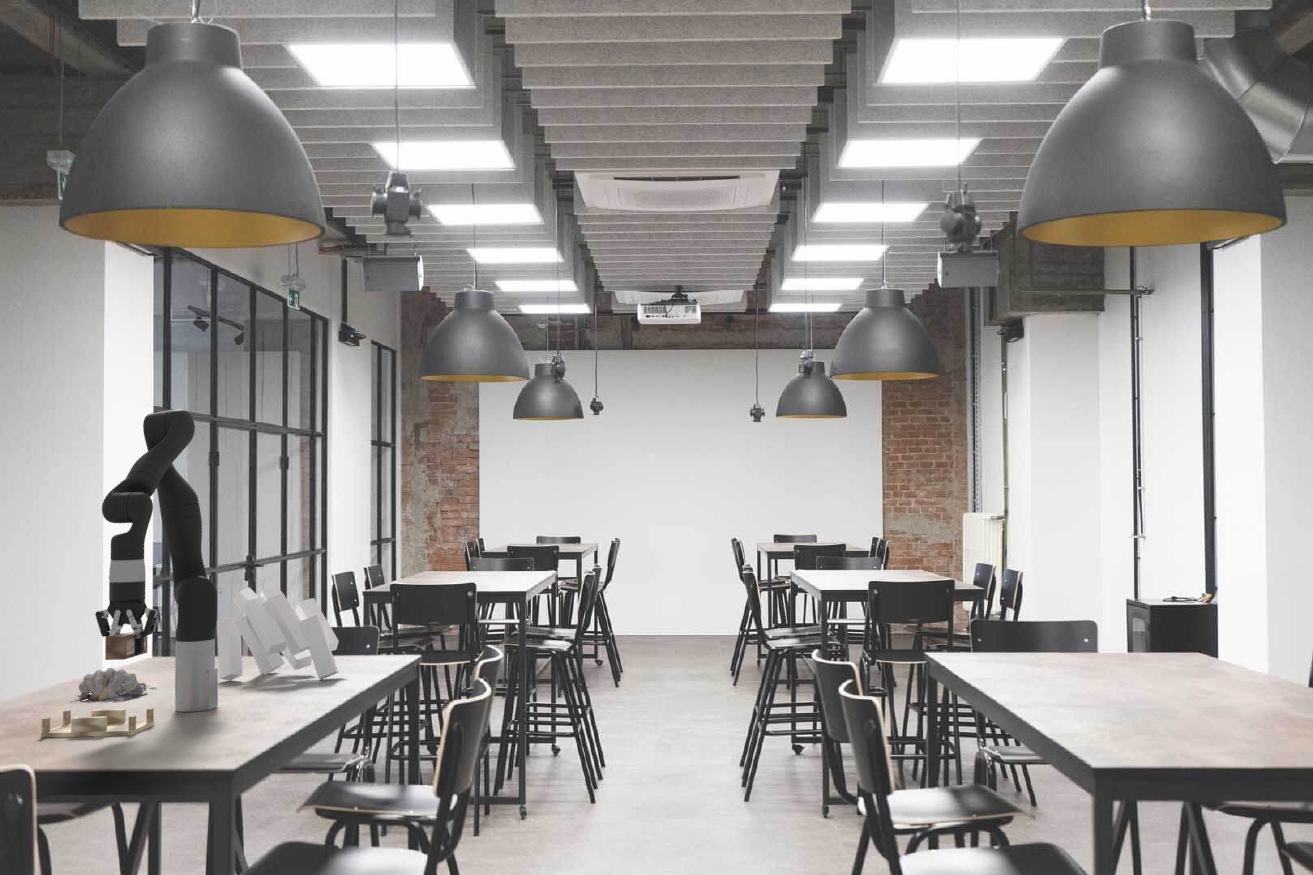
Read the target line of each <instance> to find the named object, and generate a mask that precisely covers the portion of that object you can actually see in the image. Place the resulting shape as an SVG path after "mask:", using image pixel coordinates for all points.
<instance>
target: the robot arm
mask: <svg viewBox="0 0 1313 875" xmlns="http://www.w3.org/2000/svg"><path fill="white" fill-rule="evenodd" d="M142 426H143V427H142V429H143V430H142V431H143V437H144V442H145V444H146V448H147V451H146V452H145V453H144V454H143V455H141V456H140V457H138V459H137V460H136V461H135V463H134V464H133V465H132V466H131V468H130V470H129V472H128V474H127V475H126V477H125V479H123V480H122V481H121V482H119V483H118V484H117V485H116V486H114V488H112V489H111V490H110V491H109V492H108V493H107V494H106V495H105V497H104V498H103V502H102V505H101V513H102V516H103V519H105V520H106V521H107V522H109V523H111V524H131V527H130V528H129V530H128V531H126V532H122V533H118V534H115V535H112V537H111V539H110V565H109V570H108V571H109V574H108V581H109V582H108V583H109V584H108V586H109V587H108V588H109V592H108V601H109V605H108V606H107V608H105V609H103V610H98V611H96V612H95V613H94V614H95V615H94V616H95V618H96V622H97V625H98V628H99V632H100V634H101V637H103V638H105V637H109V636H113V635H117V634H121V633H122V629H123V628H124V625H130V627H131V629H132V631H134V634H135V637H136V639H135V653H134V654H135V655H138V656H140V655H142V654H141V653H142V652H143V651H144V638H145V636H147V637H148V636H150V635H152V634H153V632H154V629H155V626H156V623H157V620H158V616H159V613H160V611H159V608H155V609H154V608H151V607H148V606H147V604H146V566H145V541H146V536H147V532H148V528H149V524H150V521H151V519H152V516H153V510H154V503H153V500H152V496H153V495H154V493H155V492H157V497H158V498H157V499H158V506H159V511H160V518H161V522H162V528H163V531H164V536H165V540H166V543H167V544H166V545H167V548H168V551H169V556H170V560H171V566H172V568H171V569H172V580H173V581H172V582H173V583H172V584H173V598H174V601H175V603H176V604H177V625H176V629H175V651H174V652H175V657H174V659H175V660H174V661H175V665H174V668H175V669H174V671H175V672H174V673H175V674H174V678H175V680H174V682H175V683H174V684H175V686H174V688H175V690H174V692H175V693H174V696H175V698H174V699H175V700H174V704H175V705H174V706H175V708H174V710H175V712H183V713H184V712H185V713H190V712H192V713H193V712H203V711H211V710H212V709H214V708H216V707H218V706H219V705H218V704H219V703H218V702H219V697H218V695H219V686H218V685H219V682H218V681H219V668H216V639H215V638H216V631H217V621H218V591H217V588H216V585H215V583H214V581H212V580H211V579H209V578H208V575H207V572H206V569H205V568H206V567H205V565H204V561H203V554H202V539H203V521H202V512H201V508H200V507H201V506H200V501H199V497H198V495H197V493H196V491H195V490H194V488H193V487H192V486H191V484H189V482H187V480H185V478H184V477H183V476H182V475H181V474H180V473H179V471H177V469H176V467H175V465H174V464H173V463H174V461H176V459H177V458H178V456H180V455H181V453H182V452H183V451H184V450H185V449H186V447H187V446H188V445H189V444H190V443H191V442H192V440H193V439H194V435H195V431H196V430H195V429H196V426H195V421H194V419H193V416H192V415H191V413H190V412H189V411H188V410H186V409H184V408H182V409H181V408H175V409H169V410H168V409H167V410H164V411H163V410H162V411H156V412H152V413H149V414H147V415H146V416H145V417H144V419H143V424H142ZM144 615H145V617H146V622H145V626H144V624H143V619H142V618H143V616H144ZM109 616H110V617H111V618H112V623H111V626H110V623H109Z"/></svg>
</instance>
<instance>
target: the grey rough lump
mask: <svg viewBox="0 0 1313 875" xmlns="http://www.w3.org/2000/svg"><path fill="white" fill-rule="evenodd" d="M137 679H138V678H137V676H136V674H135V673H133V672H132V673H129V672H127V671H126V670H125V669H124V668H122V669H119V670H116V669H114V668H113V667H109V668H107V669H106V671H103V670H100V669H98V670H96V671H94V673H93V674H90V673H87V674H85V675H84V677H83V680H82V681H81V682H80V683H79V684H78V690H79V692H80V694H79V695H76V696H77V697H79V698H78V699H79V700H77V699H74V700H75V701H73V700H71V701H70V703H71V702H77V701H81V702H80V703H93V702H92V701H82V700H85V699H88V700H97V701H96V702H100V703H113V702H114V703H119V702H124V701H127V700H129V699H134V698H135V697H143V696H145V694H146V695H148V693H147V690H153V691H155V690H156V689H157V687H155V686H153V687H151V686H150V685H147V684H146V683H145V682H140V681H138V680H137ZM89 693H92V694H91V695H90V694H89ZM80 698H81V699H80ZM112 701H113V702H112ZM77 703H78V702H77Z"/></svg>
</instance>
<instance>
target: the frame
mask: <svg viewBox="0 0 1313 875" xmlns="http://www.w3.org/2000/svg"><path fill="white" fill-rule="evenodd" d="M104 638H105V646H104V647H105V650H104V653H105V657H104V658H105V661H111V660H112V661H116V660H117V661H119V660H122V661H123V660H128V659H130V658H134V657H136V656H137V657H138V656H139V655H135V654H134V653H135V639H136V637H135V634H134V631H133V630H129V631H125V632H120V634H117V635H113V636H109V637H104ZM147 653H148V636H145V638H144V651H143V652H142V653H141V655H144V654H147Z"/></svg>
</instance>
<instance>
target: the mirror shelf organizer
mask: <svg viewBox="0 0 1313 875" xmlns="http://www.w3.org/2000/svg"><path fill="white" fill-rule="evenodd" d="M126 711H127V709H126V708H113V709H112V708H107V709H105V708H104V709H103V708H102V709H101V708H100V709H93V710H91V711H90V712H91V714H90V715H91V716H75V717H72V714H71V713H72V710H71V709H67V710H63V712H62V716H63V717H62V724H61V725H59V726H56V727H54V728H51V717H43V718H42V719H41V732H40V738H41V737H53V738H83V737H82V736H94V737H115V736H116V737H121V736H123V737H125V736H126V737H127V736H128V737H130V736H131V737H133V736H134V735H136V734H139V733H141V732H143V731H145V730H148V729H149V728H152V727H154V726H155V720H154V711H155V710H154V707H151V708H146V720H137V715H130V716H128V721H126V720H127V719H126V717H127V716H126V715H127V714H126V713H127V712H126Z"/></svg>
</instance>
